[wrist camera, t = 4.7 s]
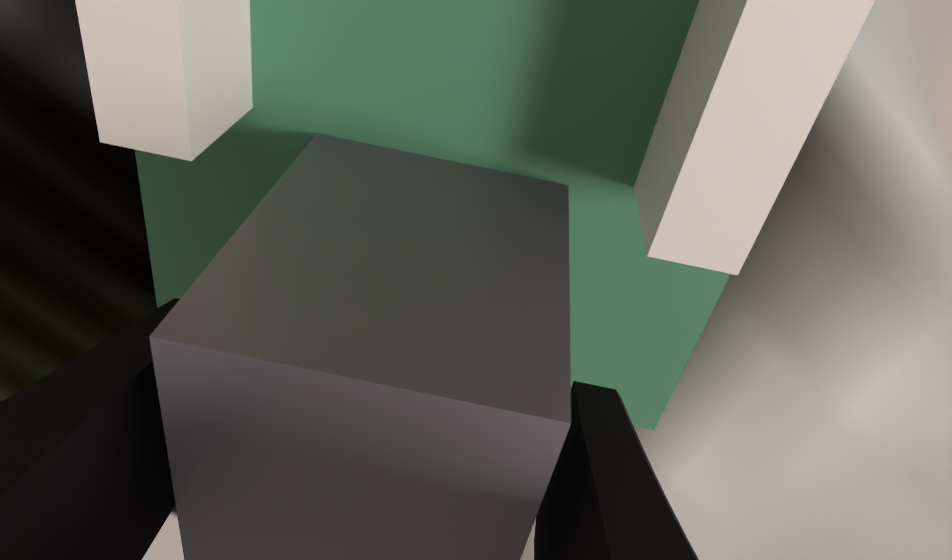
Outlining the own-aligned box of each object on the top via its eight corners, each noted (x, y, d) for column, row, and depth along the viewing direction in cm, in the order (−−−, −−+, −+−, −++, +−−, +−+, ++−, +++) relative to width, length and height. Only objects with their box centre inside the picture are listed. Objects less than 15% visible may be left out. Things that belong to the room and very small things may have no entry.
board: (649, 401, 14) (667, 516, 11) (180, 303, 14) (101, 399, 11) (1182, -739, 6) (1617, -1140, 3) (28, -992, 5) (-358, -1585, 3)
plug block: (505, 406, 13) (478, 669, 9) (309, 365, 13) (192, 610, 9) (568, 184, 10) (570, 422, 6) (316, 132, 10) (148, 337, 6)
